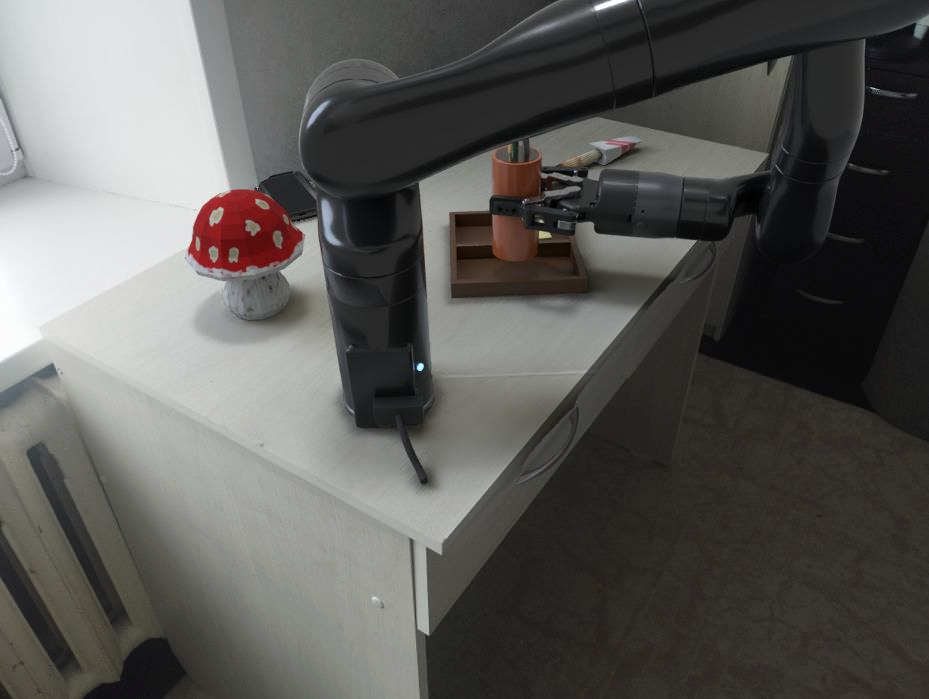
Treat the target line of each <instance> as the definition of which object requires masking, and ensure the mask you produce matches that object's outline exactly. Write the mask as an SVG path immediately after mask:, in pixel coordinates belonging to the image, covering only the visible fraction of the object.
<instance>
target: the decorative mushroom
mask: <svg viewBox="0 0 929 699" xmlns="http://www.w3.org/2000/svg"><path fill="white" fill-rule="evenodd" d="M191 232H192V233H191V240H190V243H189V245H188V248H187V251H186V252H185V255H184V259H185V261H186V263H187V264H188V265H189V266H190V267H191V268H192V269H193V271H194V272H195V273H196V274H197V276H201V277H205V278H209V279H211V280H212V279H213V280H216V281H221V282H225V283H224V286H223V290H222V302H223V304H224V305H225V307H226V308H227V309H228V310H229V311H230V312H231V313H232V314H233V315H234V316H236V317H237V318H241V319H243V320H247V321H256V320H257V321H258V320H265V319H267V318H268V319H269V318H270V317H272V316H275V315H277V314H279V313H280V312H281V311H282V310H283V309H284V308H285V307H286V305H287V304H288V302H289V300H290V296H291V295H290V294H291V285H290V283H289V281H288V279H287V277H286V276H285V275H284V274H283V273H282V272H281V271H282V270H285V269H286V268H287V267H289V266H290V265H291V264H293V263H294V262H295V261H296V260H297V259H299V258H300V257H301V256H302V255H303V251H304V247H305V246H304V245H305V240H306V234H305V233H304V232H303V231H302V230H301V229H300V228H298V227H297V226H296V225H295V224H294V223H293V221H291V220H290V218H289V216H288V214H287V212H286V211H285V209H284V208H282V207H281V206H280V205H279V204H278V203H276V202H275V201H274V200H273V199H272V198H270V197H269V196H268V195H266V194H264V193H261V192H258V191H256V190H255V189H249V188H240V189H239V188H238V189H231V190H230V189H229V190H226V191H223V192H220V193H218V194H216V195H214V196H213V197H211V198H210V199H209V200H208V201H207V202H205V203H204V204H203V205H201V207H200V210H199V212H198V214H197V215H196V218H195V220H194V223H193V225H192V231H191Z"/></svg>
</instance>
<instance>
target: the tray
mask: <svg viewBox="0 0 929 699" xmlns="http://www.w3.org/2000/svg"><path fill="white" fill-rule="evenodd" d="M448 221H449V222H448V224H449V254H450V255H449V261H450V263H449V264H450V267H449V268H450V293H451V296H450V297H451V299H454V298H456V299H457V298H458V299H459V298H481V297H482V298H483V297H484V298H485V297H487V298H489V297H510V296H511V297H512V296H537V295H539V296H541V295H543V296H544V295H568V294H569V295H570V294H571V295H572V294H587V290H588V276H587V272H586V268H585V266H584V261H583V259H582V256H581V252H580V248H579V245H578V241H577V239H576V234H575V235H573V236H567V235H561V234H555V233H550V235H551V236H552V240H567V239H569V240H570V251H569V255H564V256H536V257H533V258H531V259H528V260H525V261H506V260H503V259H500V258H479V259H457V248H456V244H457V243H482V242H492V214H491V213H490V212H489V210H469V211H468V210H467V211H464V210H463V211H449V212H448Z"/></svg>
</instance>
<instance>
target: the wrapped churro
mask: <svg viewBox="0 0 929 699" xmlns="http://www.w3.org/2000/svg"><path fill="white" fill-rule="evenodd" d="M644 141H645V140H644V139H641V138H639V137H636V136H633V135H628V136H622V137H617V138H611V139H605V140H599V141H594V142H589V143H588V146H589V149H590V150H589V151H587V152H584V153H583V154H580V155H578V156H575V157H572V158H570V159H567V160H565V161H563V162H560V163H558V164H556V165H555V166H572V167H585V166H587V165H588V164H591V163H594V162H595V163H597V164H598V165H599V164H600V165H601V166H605V165H607V164H609V163H611V162H612V161H614V160H615V159H617V158H618V157H620V156H622V155H624V154H625V153H627V152H628V151H630V150H632V149H633V148H634V147H636V146H637V145H639V144H641V143H643V142H644ZM549 175H551V174H549Z"/></svg>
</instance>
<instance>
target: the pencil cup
mask: <svg viewBox="0 0 929 699" xmlns="http://www.w3.org/2000/svg"><path fill="white" fill-rule="evenodd" d="M521 143H522V144H520V141H519V142H516V143H513V144H509V145H506V146H503V147H500V148H497V149H494V150H492V153H491V196H492V195H502V196H514V197H522V199H523V198H528V197H537V196H540V195H541V173H542V166H543V153H542V152H541V150H540V149H538V148H537V147H534V146H530V138H529V139H526V140H523V141H521ZM534 206H540V205H534ZM535 221H536V222H540V220H535ZM538 249H539V231H537V230H531V229H526V228H524V221H522V220H521V217H513V216H502V215H492V252H493V254H494V255H495V256H496V257H498V258H500V259H503V260H506V261H525V260H528V259H531V258H533V257H534V256H536V255H537V253H538Z"/></svg>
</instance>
